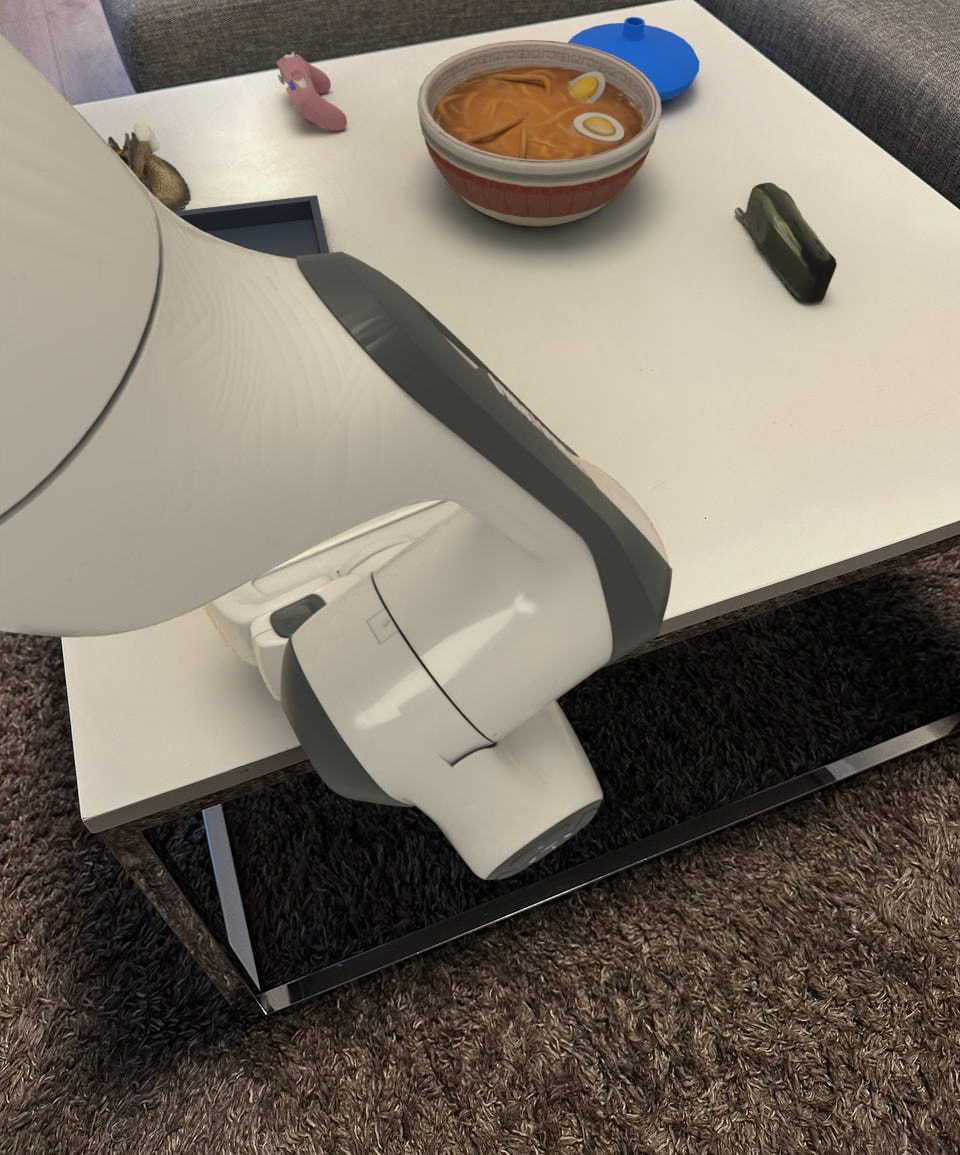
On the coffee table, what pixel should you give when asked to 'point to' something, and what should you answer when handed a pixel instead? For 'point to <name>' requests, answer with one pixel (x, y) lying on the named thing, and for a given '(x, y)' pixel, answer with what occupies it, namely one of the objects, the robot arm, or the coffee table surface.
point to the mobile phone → (788, 242)
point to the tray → (266, 225)
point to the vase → (646, 53)
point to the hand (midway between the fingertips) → (310, 459)
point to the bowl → (538, 128)
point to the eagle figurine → (152, 167)
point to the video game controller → (310, 92)
